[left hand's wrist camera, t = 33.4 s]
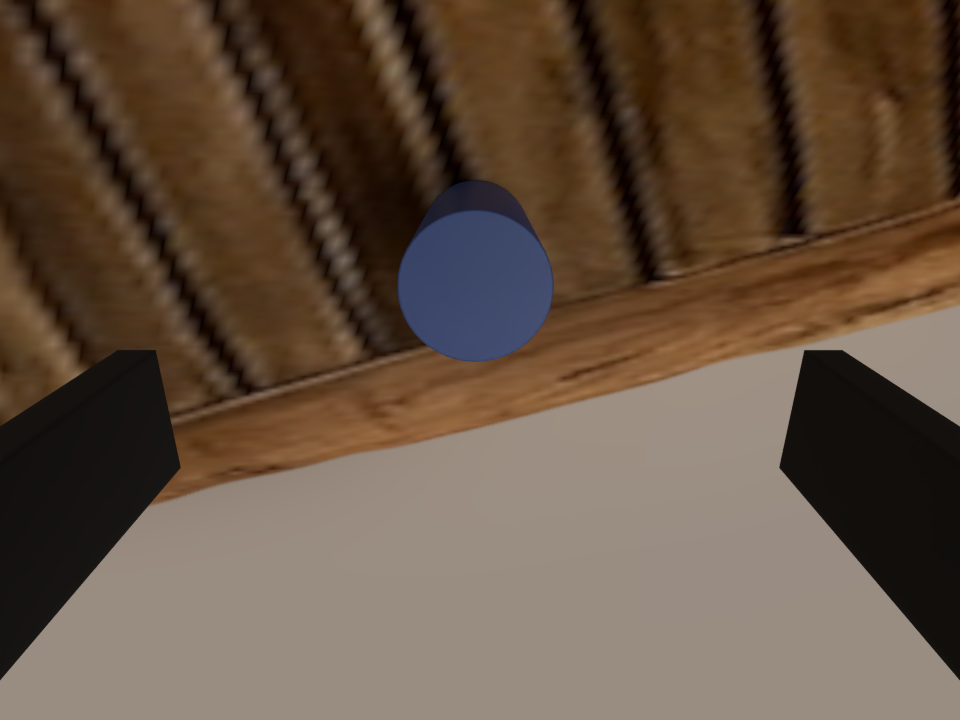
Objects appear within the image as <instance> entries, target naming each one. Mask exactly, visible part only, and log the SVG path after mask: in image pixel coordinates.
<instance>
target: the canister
mask: <svg viewBox="0 0 960 720" xmlns="http://www.w3.org/2000/svg"><path fill="white" fill-rule="evenodd" d="M397 291H398V299H399V303H400V307H401V310H402V312H403V315H404V317H405V319H406V321H407V323H408V325H409V326H410V328H411V329H412V330H413V332H414V333H415V334H416V335H417V336H418V337H419V338H420V340H421V341H423V342H424V343H425V344H426V345H428V346H429V347H430V348H432V349H433V350H435V351H437V352H439V353H441V354H443V355H445V356H448V357H451V358H454V359H458V360H463V361H473V362H477V361H488V360H494V359H497V358H500V357H504V356H506V355H508V354H510V353H512V352H514V351H516V350H517V349H519V348H521V347H522V346H523V345H525V344H526V343H527V342H528V341H529V340H530V339H531V338H532V337H533V336H534V335H535V334H536V333H537V331H538V330H539V329H540V327H541V326H542V324H543V322H544V321H545V319H546V317H547V314H548V312H549V309H550V306H551V302H552V296H553V275H552V269H551V265H550V262H549V259H548V257H547V255H546V252H545V250H544V248H543V246H542V244H541V243H540V241H539V239H538V237H537V235H536V233H535V231H534V229H533V227H532V226H531V224H530V222H529V220H528V218H527V216H526V214H525V212H524V210H523V209H522V207H521V205H520V204H519V202H518V201H517V200H516V199H515V197H514V196H513V195H512V194H510V193H509V192H508V191H507V190H505V189H504V188H502V187H500V186H498V185H496V184H493V183H490V182H486V181H477V180H476V181H466V182H461V183H459V184H456V185H454V186H452V187H450V188H448V189H447V190H445V191H444V192H442V193H441V194H440V195H439V196H438V197H437V198H436V199H435V201H434V202H433V203H432V205H431V206H430V208H429V210H428V212H427V213H426V215H425V217H424V219H423V221H422V222H421V224H420V226H419V228H418V230H417V231H416V233H415V235H414V237H413V238H412V240H411V242H410V244H409V246H408V247H407V249H406V251H405V254H404V256H403V258H402V261H401V264H400V267H399V272H398V280H397Z"/></svg>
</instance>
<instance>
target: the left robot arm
mask: <svg viewBox="0 0 960 720" xmlns="http://www.w3.org/2000/svg"><path fill="white" fill-rule="evenodd" d="M180 468H181V467H180V462H179V457H178V453H177V448H176V443H175V439H174V434H173V429H172V425H171V420H170V415H169V411H168V406H167V401H166V397H165V392H164V387H163V383H162V378H161V373H160V369H159V364H158V359H157V355H156V350H117V351H116V352H114V353H113V354H111V355H110V356H108V357H107V358H105V359H103V360H102V361H100V362H99V363H97V364H96V365H94V366H93V367H91V368H90V369H88V370H87V371H85V372H83V373H82V374H80V375H79V376H77V377H76V378H74V379H73V380H71V381H70V382H68V383H67V384H65V385H63V386H62V387H60V388H59V389H57V390H56V391H54V392H53V393H51V394H50V395H48V396H46V397H45V398H43V399H42V400H40V401H39V402H37V403H36V404H34V405H33V406H31V407H30V408H28V409H26V410H25V411H23V412H22V413H20V414H19V415H17V416H16V417H14V418H13V419H11V420H10V421H8V422H6V423H5V424H3V425H2V426H0V680H1V679H2V677H3V676H4V675H5V674H6V673H7V672H8V670H9V669H10V668H11V667H12V666H13V665H14V663H15V662H16V661H17V660H18V659H19V657H20V656H21V655H22V654H23V653H24V652H25V650H26V649H27V648H28V647H29V646H30V644H31V643H32V642H33V641H34V640H35V639H36V637H37V636H38V635H39V634H40V633H41V632H42V630H43V629H44V628H45V627H46V626H47V624H48V623H49V622H50V621H51V620H52V619H53V617H54V616H55V615H56V614H57V613H58V612H59V610H60V609H61V608H62V607H63V606H64V604H65V603H66V602H67V601H68V600H69V599H70V597H71V596H72V595H73V594H74V593H75V591H76V590H77V589H78V588H79V587H80V586H81V584H82V583H83V582H84V581H85V580H86V579H87V577H88V576H89V575H90V574H91V573H92V571H93V570H94V569H95V568H96V567H97V566H98V564H99V563H100V562H101V561H102V560H103V559H104V557H105V556H106V555H107V554H108V553H109V551H110V550H111V549H112V548H113V547H114V546H115V544H116V543H117V542H118V541H119V540H120V539H121V537H122V536H123V535H124V534H125V533H126V531H127V530H128V529H129V528H130V527H131V526H132V524H133V523H134V522H135V521H136V520H137V519H138V517H139V516H140V515H141V514H142V513H143V511H144V510H145V509H146V508H147V507H148V506H149V504H150V503H151V502H152V501H153V500H154V498H155V497H156V496H157V495H158V494H159V493H160V491H161V490H162V489H163V488H164V487H165V486H166V484H167V483H168V482H169V481H170V480H171V478H172V477H173V476H174V475H175V474H176V473H177V471H178V470H179V469H180ZM779 468H780V469H781V470H782V471H783V473H784V474H785V475H786V476H787V477H788V478H789V480H790V481H791V482H792V483H793V484H794V485H795V487H796V488H797V489H798V490H799V491H800V492H801V494H802V495H803V496H804V497H805V498H806V500H807V501H808V502H809V503H810V504H811V506H812V507H813V508H814V509H815V510H816V511H817V513H818V514H819V515H820V516H821V517H822V519H823V520H824V521H825V522H826V523H827V524H828V526H829V527H830V528H831V529H832V530H833V531H834V533H835V534H836V535H837V536H838V537H839V538H840V540H841V541H842V542H843V543H844V544H845V546H846V547H847V548H848V549H849V550H850V551H851V553H852V554H853V555H854V556H855V557H856V559H857V560H858V561H859V562H860V563H861V564H862V566H863V567H864V568H865V569H866V570H867V571H868V573H869V574H870V575H871V576H872V577H873V579H874V580H875V581H876V582H877V583H878V584H879V586H880V587H881V588H882V589H883V590H884V591H885V593H886V594H887V595H888V596H889V597H890V599H891V600H892V601H893V602H894V603H895V604H896V606H897V607H898V608H899V609H900V610H901V612H902V613H903V614H904V615H905V616H906V617H907V619H908V620H909V621H910V622H911V623H912V624H913V626H914V627H915V628H916V629H917V630H918V632H919V633H920V634H921V635H922V636H923V637H924V639H925V640H926V641H927V642H928V643H929V644H930V646H931V647H932V648H933V649H934V650H935V652H936V653H937V654H938V655H939V656H940V657H941V659H942V660H943V661H944V662H945V663H946V664H947V666H948V667H949V668H950V669H951V670H952V672H953V673H954V674H955V675H956V676H957V677H958V679H959V680H960V426H958V425H957V424H955V423H954V422H952V421H950V420H949V419H947V418H946V417H944V416H943V415H941V414H940V413H938V412H937V411H935V410H934V409H932V408H930V407H929V406H927V405H926V404H924V403H923V402H921V401H920V400H918V399H917V398H915V397H914V396H912V395H910V394H909V393H907V392H906V391H904V390H903V389H901V388H900V387H898V386H897V385H895V384H893V383H892V382H890V381H889V380H887V379H886V378H884V377H883V376H881V375H880V374H878V373H877V372H875V371H873V370H872V369H870V368H869V367H867V366H866V365H864V364H863V363H861V362H860V361H858V360H856V359H855V358H853V357H852V356H850V355H849V354H847V353H846V352H844V351H843V350H805V351H804V355H803V359H802V364H801V369H800V373H799V378H798V383H797V387H796V392H795V397H794V401H793V406H792V411H791V415H790V420H789V425H788V430H787V434H786V439H785V444H784V448H783V453H782V457H781V462H780V467H779Z"/></svg>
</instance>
